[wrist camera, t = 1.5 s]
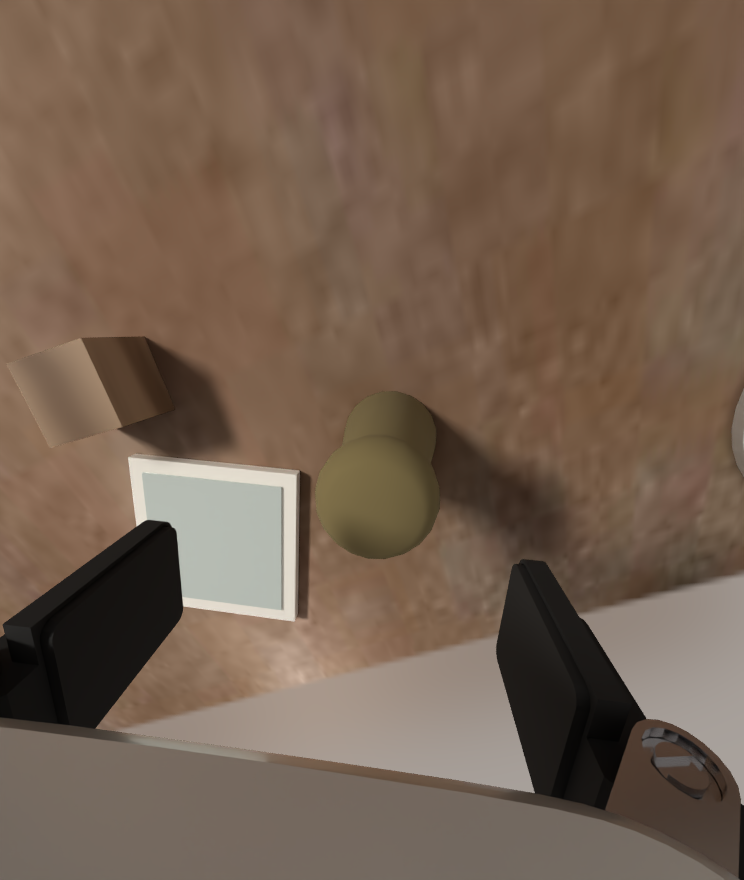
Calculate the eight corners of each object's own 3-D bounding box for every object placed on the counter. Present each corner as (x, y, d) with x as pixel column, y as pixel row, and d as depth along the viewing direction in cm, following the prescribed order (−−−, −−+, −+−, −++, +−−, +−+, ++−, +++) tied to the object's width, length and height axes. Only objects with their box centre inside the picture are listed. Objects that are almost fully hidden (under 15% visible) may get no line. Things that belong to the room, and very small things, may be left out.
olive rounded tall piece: (443, 473, 25) (465, 576, 14) (354, 485, 26) (315, 591, 15) (429, 382, 23) (442, 425, 13) (335, 399, 24) (277, 452, 14)
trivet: (299, 470, 26) (295, 475, 25) (297, 614, 29) (294, 623, 29) (136, 453, 27) (126, 457, 26) (152, 594, 30) (144, 602, 29)
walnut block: (145, 336, 25) (80, 337, 20) (176, 409, 26) (122, 426, 21) (82, 357, 26) (5, 363, 21) (114, 427, 27) (50, 448, 22)
